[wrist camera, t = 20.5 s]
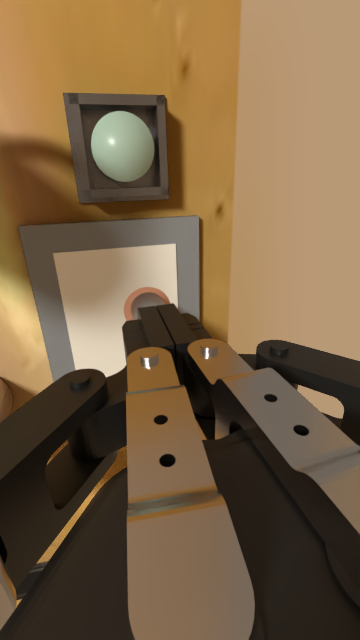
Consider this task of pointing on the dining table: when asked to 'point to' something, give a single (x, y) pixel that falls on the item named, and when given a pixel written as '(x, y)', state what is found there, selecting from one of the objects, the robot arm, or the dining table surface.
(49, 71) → the dining table surface
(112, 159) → the button
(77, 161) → the button housing
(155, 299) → the grey cylindrical piece
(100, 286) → the drawing board
